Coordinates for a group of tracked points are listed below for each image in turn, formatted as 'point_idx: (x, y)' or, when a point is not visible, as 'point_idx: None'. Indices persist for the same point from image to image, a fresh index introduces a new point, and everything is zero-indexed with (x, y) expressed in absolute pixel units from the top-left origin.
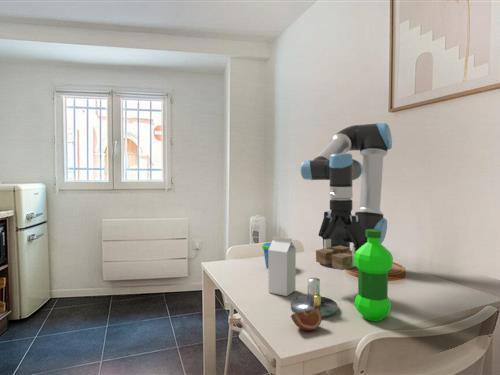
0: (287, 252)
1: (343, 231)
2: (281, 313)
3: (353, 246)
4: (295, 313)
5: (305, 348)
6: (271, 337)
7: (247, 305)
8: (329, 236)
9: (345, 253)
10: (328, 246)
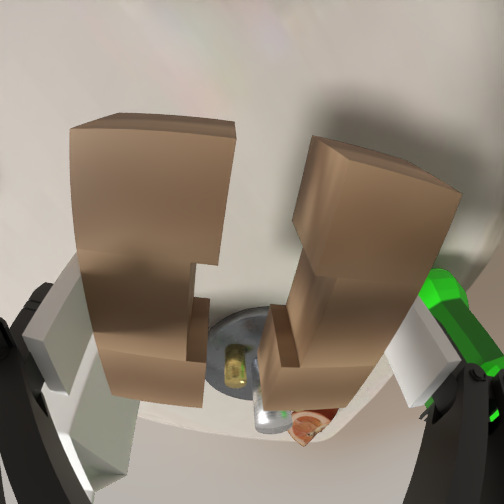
0: (124, 471)
1: None
2: (230, 403)
3: (422, 416)
4: (306, 444)
5: (339, 425)
6: (284, 438)
7: (154, 413)
8: (24, 371)
9: (322, 348)
10: (82, 313)
